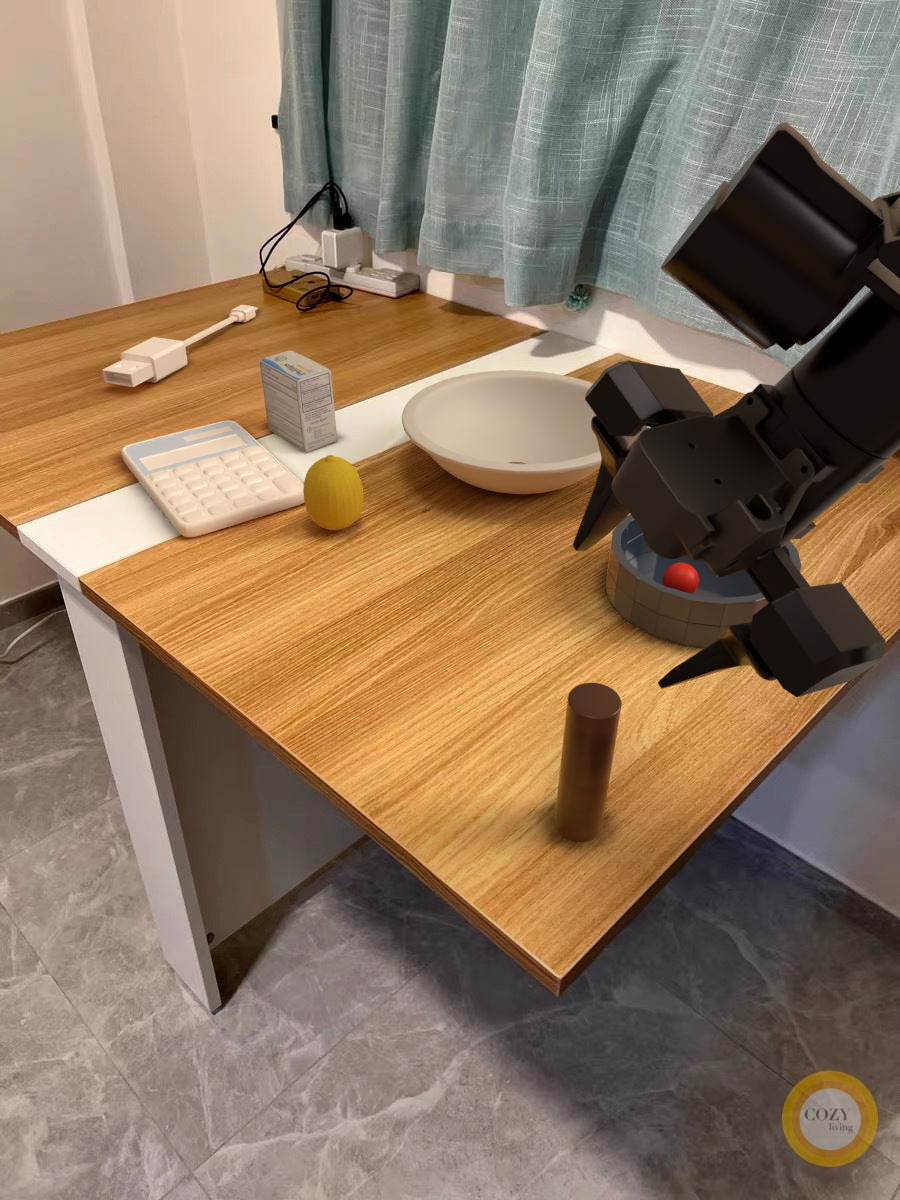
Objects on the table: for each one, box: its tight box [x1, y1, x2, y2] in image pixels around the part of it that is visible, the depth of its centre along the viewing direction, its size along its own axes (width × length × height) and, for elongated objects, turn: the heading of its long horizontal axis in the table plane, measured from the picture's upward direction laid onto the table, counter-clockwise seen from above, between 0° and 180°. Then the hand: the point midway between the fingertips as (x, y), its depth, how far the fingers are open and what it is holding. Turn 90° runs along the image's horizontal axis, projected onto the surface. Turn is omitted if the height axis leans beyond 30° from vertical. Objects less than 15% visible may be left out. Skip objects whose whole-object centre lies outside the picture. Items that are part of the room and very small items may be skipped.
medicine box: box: [259, 350, 338, 453], centre depth 98 cm, size 8×4×9 cm, turn 41°
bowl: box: [605, 514, 803, 649], centre depth 75 cm, size 15×15×5 cm
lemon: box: [303, 454, 365, 532], centre depth 82 cm, size 6×6×8 cm
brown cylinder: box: [553, 682, 623, 843], centre depth 53 cm, size 3×3×11 cm
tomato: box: [662, 563, 699, 594], centre depth 75 cm, size 3×3×3 cm
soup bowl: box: [401, 369, 601, 495], centre depth 92 cm, size 24×24×7 cm
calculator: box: [121, 419, 305, 538], centre depth 92 cm, size 13×20×2 cm, turn 34°
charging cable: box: [101, 304, 259, 388], centre depth 122 cm, size 5×32×3 cm, turn 160°
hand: (619, 614), depth 49 cm, fingers open, 9 cm apart
